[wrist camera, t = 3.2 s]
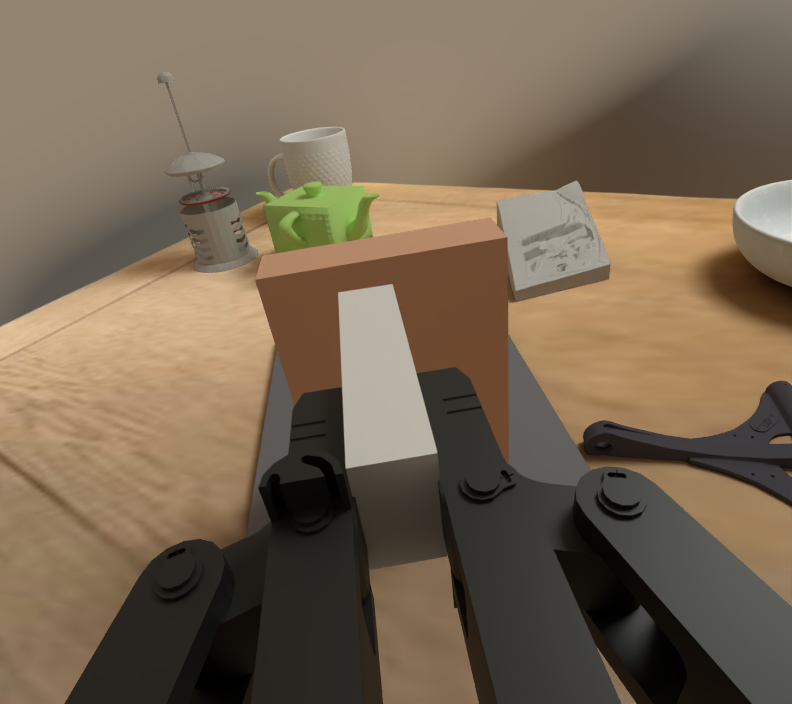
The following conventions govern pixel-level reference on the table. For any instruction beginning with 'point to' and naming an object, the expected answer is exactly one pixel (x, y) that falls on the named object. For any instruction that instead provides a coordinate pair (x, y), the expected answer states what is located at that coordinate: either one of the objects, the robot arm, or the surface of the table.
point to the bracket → (716, 444)
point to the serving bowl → (766, 229)
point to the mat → (528, 434)
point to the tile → (418, 303)
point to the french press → (215, 227)
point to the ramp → (551, 242)
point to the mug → (314, 158)
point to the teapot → (318, 216)
